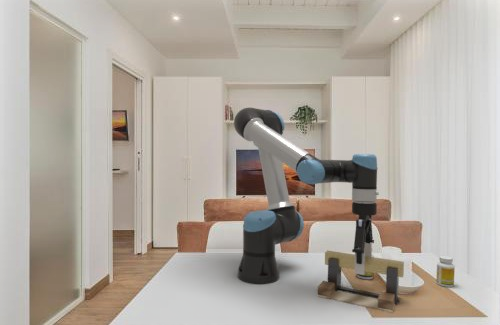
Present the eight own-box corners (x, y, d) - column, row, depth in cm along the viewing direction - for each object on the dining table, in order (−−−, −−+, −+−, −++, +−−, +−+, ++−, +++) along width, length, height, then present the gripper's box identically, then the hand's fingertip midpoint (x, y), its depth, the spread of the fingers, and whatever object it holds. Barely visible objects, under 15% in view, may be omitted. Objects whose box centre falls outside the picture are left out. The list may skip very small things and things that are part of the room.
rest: (317, 296, 107) (317, 286, 107) (323, 289, 114) (323, 280, 114) (392, 312, 97) (392, 302, 97) (394, 303, 103) (395, 293, 103)
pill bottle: (374, 280, 122) (375, 250, 122) (357, 279, 124) (357, 248, 124) (372, 275, 129) (373, 245, 128) (355, 273, 130) (355, 244, 130)
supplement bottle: (432, 282, 122) (433, 255, 121) (444, 281, 123) (444, 254, 123) (446, 288, 117) (447, 260, 116) (457, 286, 118) (458, 258, 118)
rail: (324, 264, 114) (325, 252, 114) (327, 262, 117) (327, 250, 117) (402, 277, 103) (403, 264, 103) (403, 274, 106) (403, 261, 106)
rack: (325, 290, 113) (326, 258, 113) (330, 284, 118) (331, 254, 118) (398, 304, 102) (399, 270, 102) (399, 297, 108) (400, 265, 107)
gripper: (370, 207, 97) (369, 281, 97) (381, 199, 119) (381, 259, 119) (343, 205, 101) (342, 277, 101) (359, 197, 123) (358, 256, 123)
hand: (363, 267), depth 110 cm, fingers open, 13 cm apart
